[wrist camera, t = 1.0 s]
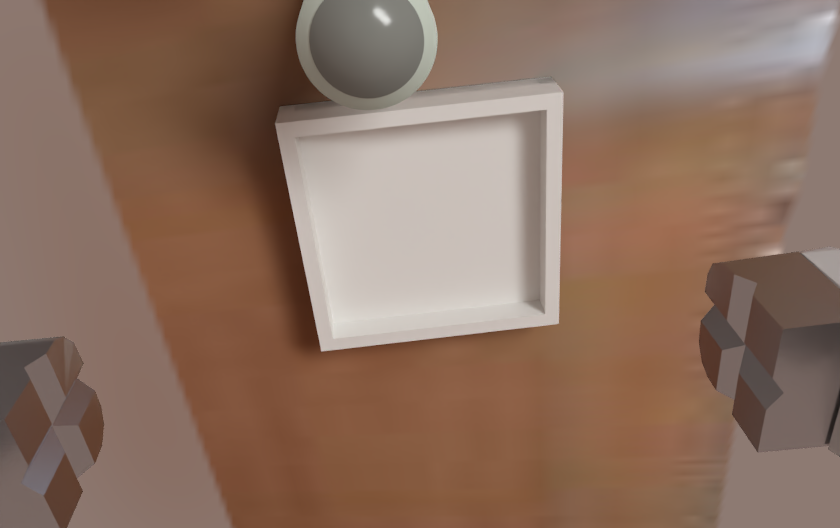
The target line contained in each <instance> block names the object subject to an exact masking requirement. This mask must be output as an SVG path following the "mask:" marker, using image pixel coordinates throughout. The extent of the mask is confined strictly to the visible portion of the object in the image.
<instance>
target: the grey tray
mask: <svg viewBox="0 0 840 528" xmlns="http://www.w3.org/2000/svg"><path fill="white" fill-rule="evenodd" d="M275 126H276V131H277V136H278V141H279V146H280V151H281V156H282V161H283V166H284V171H285V175H286V180H287V185H288V190H289V195H290V200H291V205H292V210H293V215H294V220H295V225H296V229H297V234H298V239H299V244H300V249H301V254H302V259H303V264H304V269H305V274H306V279H307V283H308V288H309V293H310V298H311V303H312V308H313V313H314V318H315V323H316V328H317V333H318V337H319V342H320V347H321V351H329V350H338V349H347V348H355V347H364V346H372V345H381V344H390V343H398V342H407V341H415V340H424V339H432V338H441V337H450V336H458V335H467V334H475V333H484V332H493V331H501V330H510V329H518V328H527V327H536V326H544V325H553V324H559V285H560V235H561V185H562V135H563V91H562V90H561V88H560V87H559V86H558V84H557V83H556V82H555V81H554V79H553V78H552V77H543V78H534V79H525V80H516V81H507V82H498V83H488V84H479V85H470V86H461V87H452V88H443V89H434V90H424V91H415V92H414V93H413V94H412V95H411V96H409V97H408V98H407V99H405V100H403V101H402V102H400V103H398V104H395V105H393V106H390V107H387V108H383V109H378V110H358V109H353V108H349V107H346V106H343V105H340V104H338V103H336V102H334V101H324V102H315V103H306V104H297V105H288V106H280V107H279V111H278V114H277V118H276V122H275Z"/></svg>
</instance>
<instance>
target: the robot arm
mask: <svg viewBox="0 0 840 528" xmlns="http://www.w3.org/2000/svg"><path fill="white" fill-rule="evenodd" d="M705 293H706V294H707V295H708V297H709V298H710V299H711V301H712V302H713V303H714V306H713V307H712V308H711V310H710V311H709V312H708V313H707V314H706V315H705V316H704V318H703V319H702V320H701V325H700V335H699V346H700V353H701V360H702V364H703V366H704V369H705V371H706V374H707V377H708V378H709V380H710V381H711V383H712V385H713V386H714V388H715V389H716V391H718V392H720V393H722V394H724V395H726V396H728V397H730V398H732V399H734V405H733V411H732V415H733V417H734V418H735V420H736V421H737V423H738V424H739V425H740V427H741V428H742V430H743V431H744V433H745V434H746V436H747V437H748V439H749V440H750V442H751V443H752V445H753V446H754V448H755V449H756V451H757V452H768V451H778V450H789V449H800V448H811V447H821V446H829V447H828V449H829V450H830V451H832V452H833V453H835V454H836V455H838V456H839V457H840V249H838V248H834V247H824V248H817V249H810V250H804V251H797V252H791V253H786V254H778V255H771V256H764V257H757V258H749V259H742V260H735V261H728V262H720V263H713V264H712V266H711V268H710V270H709V272H708V275H707V281H706V287H705ZM82 366H83V361H82V359H81V357H80V355H79V352H78V350H77V348H76V346H75V344H74V342H72V341H71V340H69V339H67V338H65V337H53V338H42V339H32V340H21V341H11V342H0V528H67V526H68V524H69V522H70V519H71V517H72V515H73V512H74V510H75V508H76V506H77V503H78V501H79V499H80V497H81V494H82V492H83V491H82V488H81V486H80V484H79V482H78V480H77V478H78V477H79V476H80V475H82V474H83V473H84V472H85V471H86V470H88V469H89V468H90V467H91V466H92V465H94V464H95V462H96V459H97V457H98V454H99V452H100V449H101V447H102V440H103V429H104V428H103V427H104V421H103V415H102V409H101V405H100V402H99V400H98V398H97V395H96V392H95V391H94V390H93V389H92V388H90V387H89V386H87V385H86V384H84V383H83V382H81V381H80V380H79V379H77V377H78V375H79V373H80V370H81V368H82Z"/></svg>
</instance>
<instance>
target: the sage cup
mask: <svg viewBox="0 0 840 528" xmlns="http://www.w3.org/2000/svg"><path fill="white" fill-rule="evenodd" d="M296 48H297V53H298V57H299V60H300V63H301V66H302V68H303V70H304V72H305V74H306V75H307V77H308V78H309V80H310V81H311V83H312V84H313V85H314V86H315V87H316V88H317V89H318V90H319V91H320V92H321V93H322V94H323V95H325V96H326V97H328V98H329V99H331V100H332V101H334V102H336V103H338V104H340V105H343V106H346V107H349V108H353V109H358V110H378V109H383V108H387V107H390V106H393V105H395V104H398V103H400V102H402V101H403V100H405V99H407V98H408V97H409V96H411V95H412V94H413V93H414V92H415V91H416V90H417V89H418V88H419V87H420V86H421V85H422V84H423V82H424V81H425V79H426V78H427V76H428V74H429V73H430V71H431V68H432V66H433V63H434V60H435V56H436V52H437V28H436V23H435V19H434V16H433V13H432V11H431V8H430V6H429V3H428V1H427V0H303V4H302V7H301V10H300V14H299V17H298V21H297V26H296Z"/></svg>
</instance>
